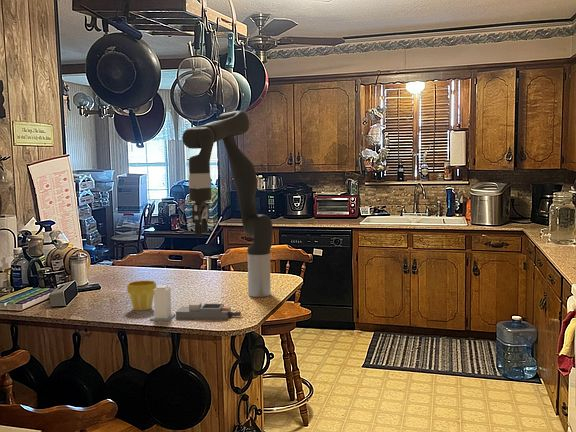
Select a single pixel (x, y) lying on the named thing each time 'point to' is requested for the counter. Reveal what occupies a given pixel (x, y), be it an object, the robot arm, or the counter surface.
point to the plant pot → (141, 294)
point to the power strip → (205, 311)
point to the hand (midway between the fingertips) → (201, 233)
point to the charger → (162, 302)
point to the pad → (162, 318)
